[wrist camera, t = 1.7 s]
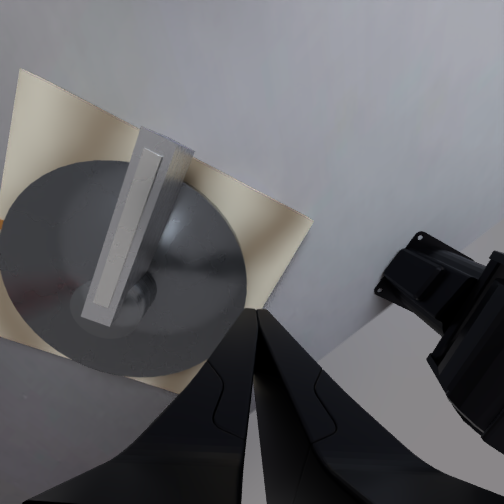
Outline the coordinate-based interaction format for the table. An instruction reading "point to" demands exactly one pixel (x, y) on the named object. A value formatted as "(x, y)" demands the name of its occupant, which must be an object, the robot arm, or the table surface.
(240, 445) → the robot arm
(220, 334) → the dial
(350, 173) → the table surface
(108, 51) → the table surface
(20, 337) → the dial board
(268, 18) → the table surface
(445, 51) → the table surface
